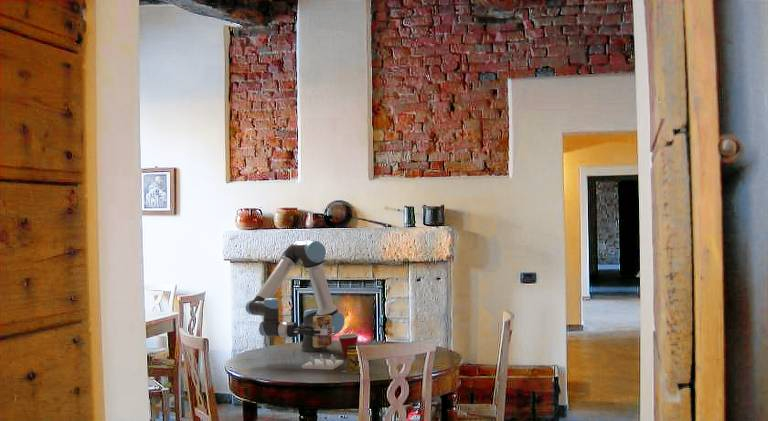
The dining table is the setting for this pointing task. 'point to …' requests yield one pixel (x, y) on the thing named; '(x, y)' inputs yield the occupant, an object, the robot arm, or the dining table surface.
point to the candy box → (322, 323)
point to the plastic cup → (347, 342)
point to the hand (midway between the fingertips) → (330, 330)
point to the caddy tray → (322, 363)
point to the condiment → (352, 360)
